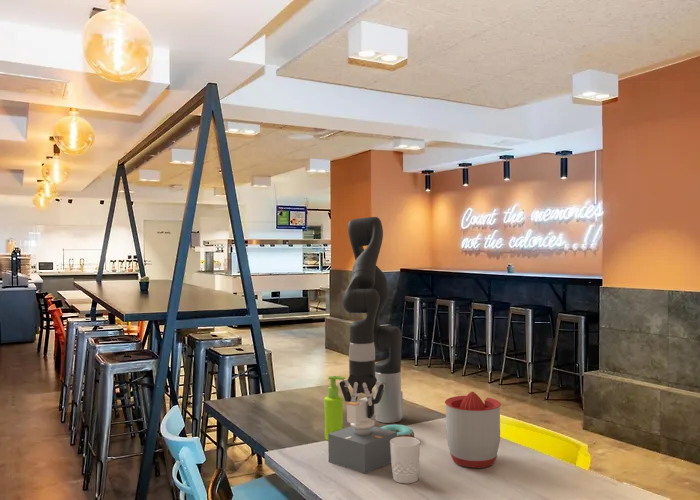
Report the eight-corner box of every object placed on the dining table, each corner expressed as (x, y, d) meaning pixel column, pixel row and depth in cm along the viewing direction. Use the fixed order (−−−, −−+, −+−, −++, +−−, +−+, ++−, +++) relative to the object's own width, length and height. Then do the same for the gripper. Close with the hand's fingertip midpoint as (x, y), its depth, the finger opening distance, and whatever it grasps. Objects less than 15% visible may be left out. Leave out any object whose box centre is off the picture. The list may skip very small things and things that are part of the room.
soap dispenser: (344, 441, 185) (343, 378, 185) (322, 440, 187) (321, 378, 187) (347, 436, 191) (346, 374, 191) (327, 434, 193) (326, 374, 193)
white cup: (388, 473, 159) (388, 437, 159) (417, 472, 159) (416, 435, 159) (393, 485, 151) (392, 446, 151) (423, 484, 152) (422, 445, 152)
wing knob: (362, 418, 175) (362, 393, 175) (382, 422, 171) (382, 396, 171) (341, 428, 166) (341, 402, 166) (361, 432, 162) (361, 405, 162)
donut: (371, 437, 190) (370, 425, 190) (404, 433, 194) (404, 421, 194) (385, 449, 178) (385, 436, 178) (420, 444, 183) (420, 431, 183)
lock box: (361, 448, 179) (360, 416, 179) (397, 459, 169) (396, 425, 169) (328, 461, 168) (328, 426, 168) (365, 473, 159) (364, 437, 159)
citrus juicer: (506, 454, 172) (505, 386, 172) (496, 475, 157) (495, 400, 157) (454, 447, 179) (453, 382, 179) (439, 467, 163) (438, 395, 163)
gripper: (389, 356, 170) (389, 415, 170) (343, 354, 175) (344, 411, 175) (382, 361, 163) (382, 423, 163) (334, 358, 168) (335, 418, 168)
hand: (362, 416), depth 169 cm, fingers closed on wing knob, 3 cm apart
